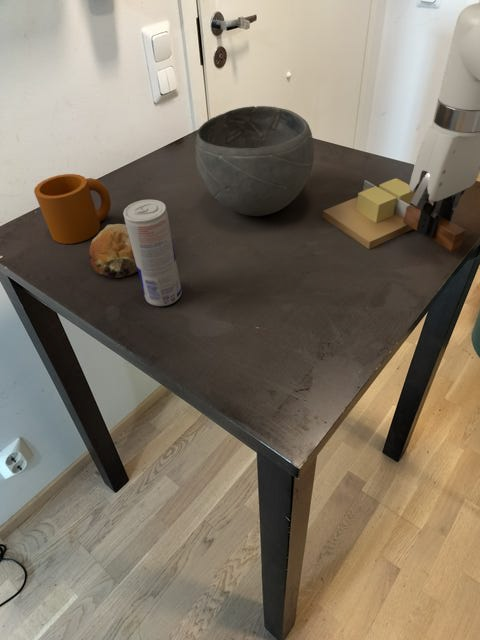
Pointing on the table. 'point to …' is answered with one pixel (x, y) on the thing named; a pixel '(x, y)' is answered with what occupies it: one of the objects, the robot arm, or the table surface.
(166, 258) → the beverage can
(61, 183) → the mug
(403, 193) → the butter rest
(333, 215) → the board
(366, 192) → the butter piece
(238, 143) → the bowl
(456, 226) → the knife
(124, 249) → the bread roll
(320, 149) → the table surface
